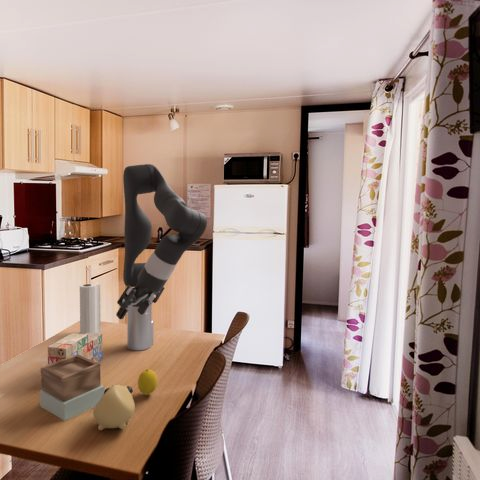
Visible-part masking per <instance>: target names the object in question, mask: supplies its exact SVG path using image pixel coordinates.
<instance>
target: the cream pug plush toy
mask: <svg viewBox="0 0 480 480" xmlns="http://www.w3.org/2000/svg"><path fill="white" fill-rule="evenodd" d="M133 391H134V390H133V388H132V386H129V385H128V386H127V385H122V384H114V385H111V386H110V387H107V388H106V389H104V395H103V396H102V398H101V399H100V400H99V402H98V403H97V405H96V406H94V407H93V408H94V409H93V412H92V413H93V417H94V419H95V421H96V423H97V424H98V425H97V429H98V430H99V431H103V430H104V429H115V428H116V429H117V428H118V429H121V430H124V429H125V428H126V427H127V425H126V424H128V423H129V421H130V420H131V418H132V417H133V415H134V413H135V408H136V405H135V400H134V399H133V396H134V393H133Z"/></svg>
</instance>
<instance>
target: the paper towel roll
mask: <svg viewBox="0 0 480 480" xmlns="http://www.w3.org/2000/svg"><path fill="white" fill-rule="evenodd" d="M101 324H102V323H101V284H96V285H95V284H92V283H85V284H84V283H83V284H80V285H79V329H80V330H79V332H80V333H79V334H86V333H96V334H100V333H101V332H102V331H101V326H102V325H101Z"/></svg>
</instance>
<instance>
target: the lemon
mask: <svg viewBox="0 0 480 480" xmlns="http://www.w3.org/2000/svg"><path fill="white" fill-rule="evenodd" d="M157 385H158V377H157V374H156V372H155V371H153V369H149V368H146V369H144V370H143V371H142V372H140V374H139V377H138V380H137V386H138V387H137V388H138V390H139V392H140V393H142V394H144V395H146V396H149V395H150V394H152V393H153V392H154V391H155V390H156V389H157Z"/></svg>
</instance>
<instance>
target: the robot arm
mask: <svg viewBox="0 0 480 480" xmlns="http://www.w3.org/2000/svg"><path fill="white" fill-rule="evenodd" d="M122 177H123V178H122V181H123V195H124V196H123V198H124V226H123V227H124V233H123V234H124V259H123V260H124V261H123V271H122V272H123V274H122V275H123V277H122V279H123V283H124V285H125V288H124V291H123V292H122V294H121V295H120V297H119V298H118V299H117V301H116V304H117V305H118V306H119V309H118V310H117V311H116V314H115V315H116V317H117V318H118V319H119V320H123V319H124V318H125V317H127V318H126V319H127V320H126V322H127V323H126V324H127V325H126V326H127V329H126V330H127V334H126V335H127V341H126V342H127V349H128V350H131V351H144V350H148V349H149V348H152V346H153V345H154V320H152V319H153V318H152V317H153V316H152V313H153V312H152V309H153V308H152V307H153V303H154V304H156V303H157V302H158V301H159V299H160V297H161V295H162V293H163V292H164V290H165V285H166V284H167V281H168V280H169V279H170V276H171V275H173V272H174V270H175V268H176V266H177V264H178V263H179V261H180V259H181V258H182V256H183V254H184V253H185V252H186V251H187V250H188V249H190V247H191V246H192V245H194V243H196V242H197V241H198V240H199V239H200V238H201V237H202V236H203V235H204V233H205V232H206V229H207V227H208V226H207V225H208V219H207V217H206V215H205V214H204V213H203V212H201V211H199V210H195V209H194V208H190V207H188V206H187V203H186V201H185V200H184V199H183V198H182V197H180V195H178V194H177V193H176V192H175V191H174V190H173V189H172V188H171V186H170V184H169V183H168V181H167V180H166V178H165V177H164V176H163V174H162V173H161V171H160V169H158V168H157V167H156V165H154V164H149V163H147V164H145V163H144V164H135V165H129V166H126V167H125V168H124V170H123V175H122ZM149 193H150V194H151V193H154V195H153V202H154V205H155V208H156V209H157V210H158V212H160V213H161V214H162V216H163V217H164V219H165V222H166V225H167V226H168V227H169V229H171V230H173V231H174V232H177V234H166V235H164V236H162V237H161V240H160V241H159V243H158V244H157V245H156V247H155V249H154V250H153V252H152V254H150V256H149V257H148V259H147V260H146V262H136V260H137V258H138V257H139V256H140V255H141V254H142V253H143V252H144V251H145V249H147V247H148V246H149V245H150V242H151V241H152V240H151V239H152V225H153V224H152V221H151V220H150V218H149V217H148V216H147V214H146V213H145V212H144V210H143V209H142V207H141V206H140V205H139V203H138V196H139V195H143V194H149ZM126 315H127V316H126Z"/></svg>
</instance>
